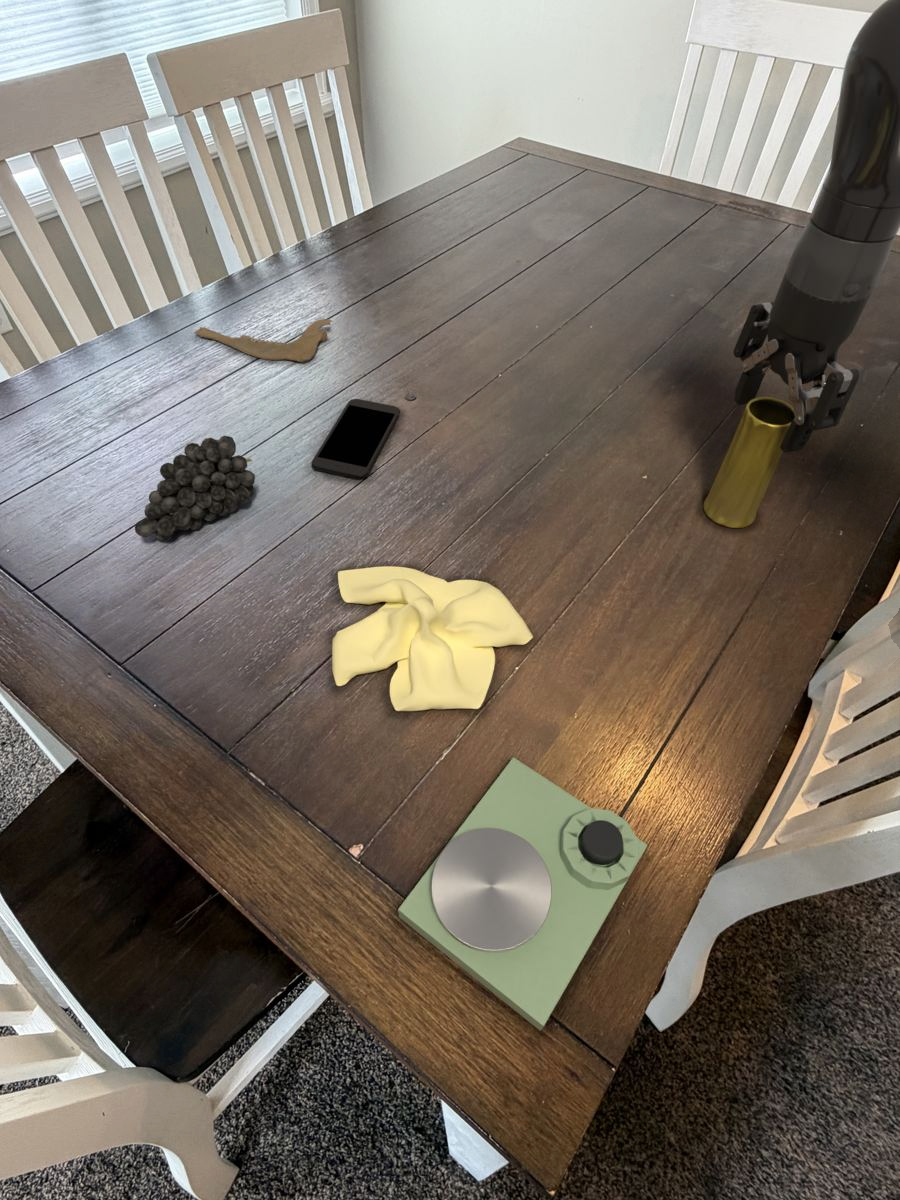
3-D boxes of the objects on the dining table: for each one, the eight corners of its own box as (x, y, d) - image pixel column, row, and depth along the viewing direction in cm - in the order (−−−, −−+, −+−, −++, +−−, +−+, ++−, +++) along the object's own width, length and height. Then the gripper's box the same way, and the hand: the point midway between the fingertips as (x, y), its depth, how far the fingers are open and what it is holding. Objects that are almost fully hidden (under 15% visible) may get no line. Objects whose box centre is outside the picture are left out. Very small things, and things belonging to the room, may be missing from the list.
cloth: (549, 607, 77) (557, 568, 72) (476, 748, 66) (479, 713, 61) (366, 538, 83) (362, 498, 78) (271, 657, 72) (260, 619, 67)
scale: (511, 766, 65) (515, 747, 62) (642, 853, 60) (652, 836, 58) (398, 916, 57) (396, 902, 54) (540, 1031, 52) (546, 1021, 49)
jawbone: (333, 366, 106) (331, 354, 104) (189, 373, 104) (185, 360, 103) (333, 328, 111) (331, 316, 109) (196, 334, 109) (192, 322, 108)
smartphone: (403, 410, 98) (402, 405, 98) (365, 481, 89) (365, 476, 88) (351, 401, 99) (350, 396, 99) (309, 470, 90) (308, 465, 89)
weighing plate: (476, 809, 59) (476, 805, 58) (573, 876, 56) (574, 873, 55) (406, 901, 54) (406, 898, 54) (507, 981, 51) (508, 979, 50)
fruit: (127, 498, 73) (248, 429, 80) (95, 482, 78) (211, 418, 85) (167, 567, 78) (277, 496, 85) (134, 547, 84) (241, 482, 91)
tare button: (592, 820, 59) (596, 812, 58) (625, 842, 58) (629, 834, 57) (573, 850, 57) (576, 842, 56) (607, 873, 56) (611, 865, 55)
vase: (700, 491, 89) (739, 391, 78) (751, 497, 89) (797, 397, 78) (705, 526, 85) (745, 425, 74) (758, 531, 85) (807, 432, 74)
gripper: (920, 310, 62) (837, 460, 74) (816, 236, 70) (757, 382, 83) (846, 323, 60) (774, 474, 73) (749, 246, 69) (699, 393, 81)
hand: (765, 425), depth 78 cm, fingers open, 8 cm apart
